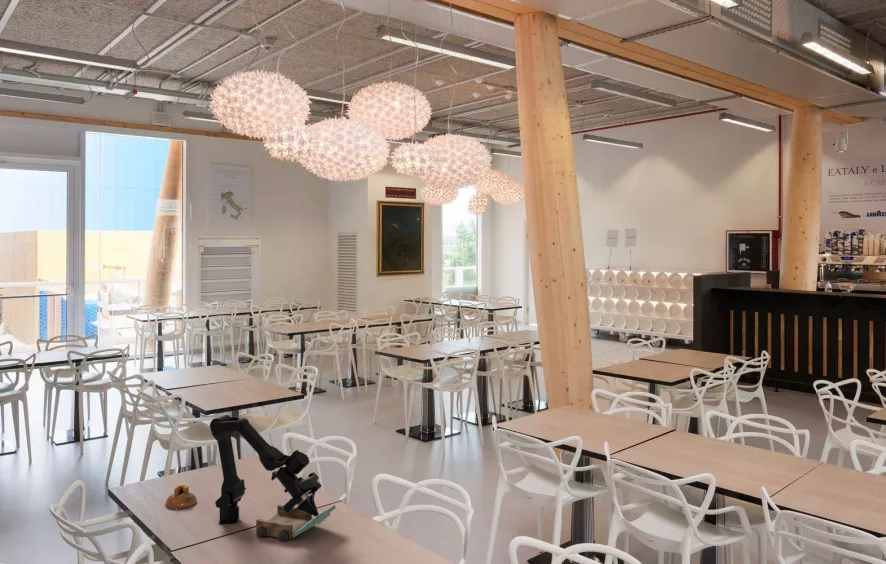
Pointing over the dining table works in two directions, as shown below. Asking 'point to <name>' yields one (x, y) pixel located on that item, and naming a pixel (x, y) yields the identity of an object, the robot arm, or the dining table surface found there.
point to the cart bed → (282, 523)
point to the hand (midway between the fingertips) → (317, 515)
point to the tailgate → (314, 521)
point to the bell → (181, 498)
